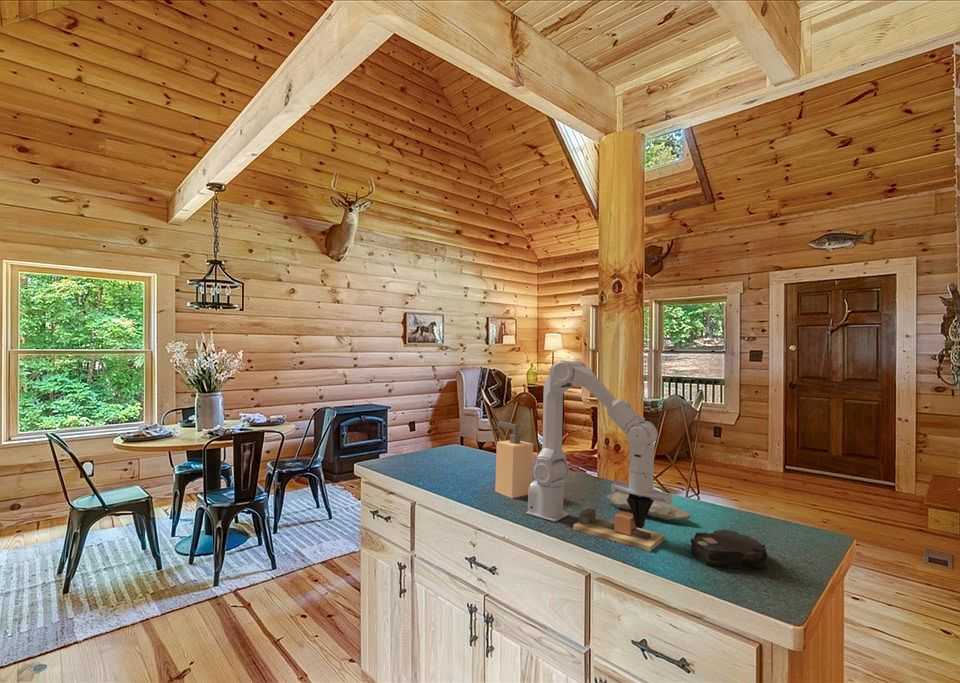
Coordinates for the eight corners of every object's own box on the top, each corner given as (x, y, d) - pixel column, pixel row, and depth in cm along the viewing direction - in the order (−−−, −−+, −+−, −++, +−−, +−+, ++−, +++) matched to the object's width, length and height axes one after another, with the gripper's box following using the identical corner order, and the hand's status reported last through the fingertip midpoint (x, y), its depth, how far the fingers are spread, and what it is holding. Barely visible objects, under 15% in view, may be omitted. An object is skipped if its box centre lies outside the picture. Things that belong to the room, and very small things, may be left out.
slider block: (614, 530, 120) (614, 515, 120) (621, 526, 123) (622, 510, 123) (629, 535, 117) (630, 519, 117) (636, 530, 121) (637, 514, 121)
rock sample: (707, 540, 120) (707, 520, 120) (779, 560, 109) (779, 538, 110) (680, 560, 108) (680, 538, 108) (758, 585, 97) (758, 560, 97)
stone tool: (618, 485, 152) (698, 503, 134) (618, 501, 151) (698, 522, 133) (598, 490, 144) (680, 511, 126) (598, 507, 144) (680, 531, 125)
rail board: (573, 529, 124) (573, 513, 124) (590, 519, 132) (591, 505, 132) (650, 551, 111) (650, 534, 111) (664, 539, 119) (664, 523, 119)
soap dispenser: (532, 494, 154) (534, 425, 154) (512, 498, 149) (514, 427, 149) (506, 484, 164) (508, 420, 165) (487, 488, 159) (489, 422, 160)
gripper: (676, 474, 117) (675, 530, 116) (619, 463, 126) (618, 515, 126) (667, 479, 111) (665, 538, 111) (608, 468, 120) (606, 522, 120)
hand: (639, 526), depth 118 cm, fingers closed
